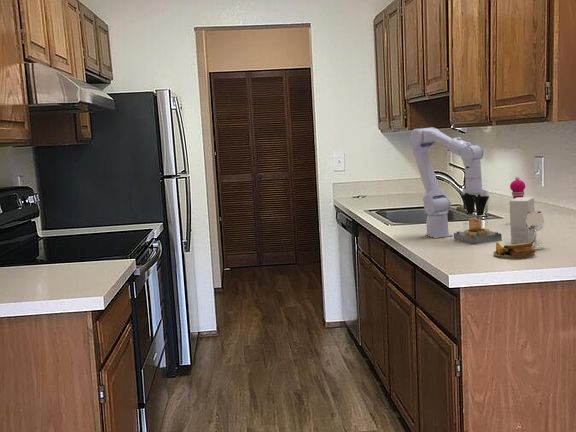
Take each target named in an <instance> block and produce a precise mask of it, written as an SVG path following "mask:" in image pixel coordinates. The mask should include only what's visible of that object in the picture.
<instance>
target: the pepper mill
mask: <svg viewBox="0 0 576 432" xmlns="http://www.w3.org/2000/svg"><path fill="white" fill-rule="evenodd" d="M509 189H510V190H511V191H512V192H511V196H512V199H515V198H518V197H525V196H524V195H525V191H524V190H525V189H526V184H525V181H523V180H521V179H520V177H519V176H515V177H514V180H512V182H511V183H510V185H509Z"/></svg>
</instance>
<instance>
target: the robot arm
mask: <svg viewBox="0 0 576 432" xmlns="http://www.w3.org/2000/svg"><path fill="white" fill-rule="evenodd" d="M409 141H410V143H411V146H412V153H413V156H414V158H415V163H416V165H417V168H418V171H419V175H420V177H421V178H420V179H421V181H422V183H423V186H424V190H425V194H424V196H423V198H422V201H423V209H424V212H425V213H426V214H427V217H426V220H425V221H426V222H425V223H426V233H425V234H424V235H425V236H426V235H428V236H427V237H429V236H430V237H429V238H432V237H433V239H436V238H437V239H438V238H447V237H454V234H452V233H449V222H448V214H449V211H450V210H451V208H452V202H451V200H450V198H449V197H448V196H447V193H446V192H445V191H444V190H442V189H441V188H440V186H439V182H438V180H437V176H436V173H435V171H434V168H433V164H432V162H431V159H430V156H429V151H430V150H431V149H432V147H433V146H435V144H436V143H438V144H441V145H443V146H445V147H447V148H448V150H449V152H451V153H452V154H454V155H457V156H458V157H460V159H461V161H462V162H463V163H462V164H463V167H464V177H465V188H463V189H462V194H463V195H460V198H461V199H462V201H463V203H464V205H465V208H466V212H467V214H474V212H475V211H476V214H477V215H476V216H479V217H480V216H484V214H485V210H486V209H485V208H486V205H487V202H488V200H489V199H490V196H489V195H488V194H487V190H486V189H483V183H482V180H483V179H482V167H481V166H482V165H481V164H482V163H481V160H482V159H483V157H484V149H483V148H482V146H481V145H480V144H474V145H473V144H472V142H469V141H468V142H467V141H466V140H463V138H462V137H460V136H457V137H454V138H452V137H450V136H448V135H447V134H445V133H444V132H442V131H440V130H439V129H438V128H436V127H433V126H432V127H431V126H430V127H425V128H414V129H412V131H411V134H410V136H409Z"/></svg>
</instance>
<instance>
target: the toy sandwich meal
mask: <svg viewBox="0 0 576 432" xmlns="http://www.w3.org/2000/svg"><path fill="white" fill-rule="evenodd" d="M532 246H534V245H533V242H531V243H520V244H506V245H503V246H502V245H501V244H500V243H499V241H496V242H495V250H494V251H493V252H492V253H493V256H495V257H497V258H500V259H524V258H529V257H532V256H533V255H535V253H537V251H536V249H533V248H532Z"/></svg>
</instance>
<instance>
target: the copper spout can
mask: <svg viewBox="0 0 576 432" xmlns="http://www.w3.org/2000/svg"><path fill="white" fill-rule="evenodd" d="M481 228H482V218H480V215H479V216H478V215H476V216H475V217H470V218H468V229H469V231H471V232H478V231H482V229H481Z"/></svg>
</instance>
